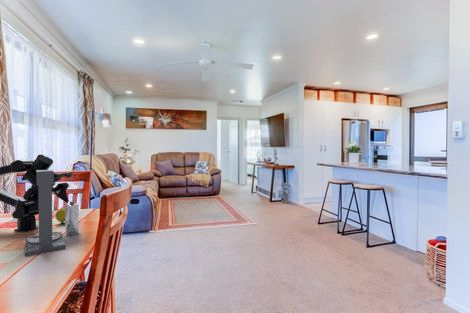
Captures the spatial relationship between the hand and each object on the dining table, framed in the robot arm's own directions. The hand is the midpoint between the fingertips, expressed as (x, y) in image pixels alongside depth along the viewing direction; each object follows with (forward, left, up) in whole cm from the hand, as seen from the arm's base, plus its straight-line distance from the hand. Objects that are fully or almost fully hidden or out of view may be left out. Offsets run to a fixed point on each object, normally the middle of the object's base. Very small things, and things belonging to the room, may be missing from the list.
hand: (59, 204), depth 115 cm
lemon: (-10, +13, -13) cm, 21 cm away
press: (+7, -13, -13) cm, 20 cm away
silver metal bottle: (+7, -1, -13) cm, 15 cm away
